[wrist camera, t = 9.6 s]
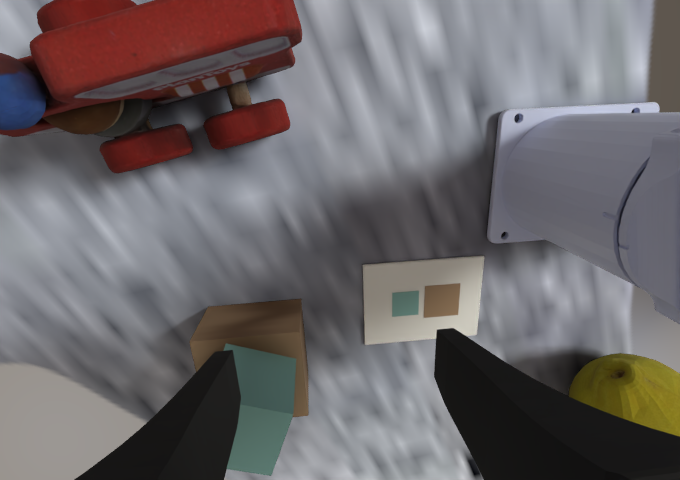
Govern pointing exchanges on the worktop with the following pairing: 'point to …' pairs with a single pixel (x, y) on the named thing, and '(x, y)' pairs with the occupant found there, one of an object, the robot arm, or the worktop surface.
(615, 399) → the lemon
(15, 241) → the worktop surface
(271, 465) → the teal block
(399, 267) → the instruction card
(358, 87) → the worktop surface
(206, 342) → the walnut block
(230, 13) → the toy fire truck
